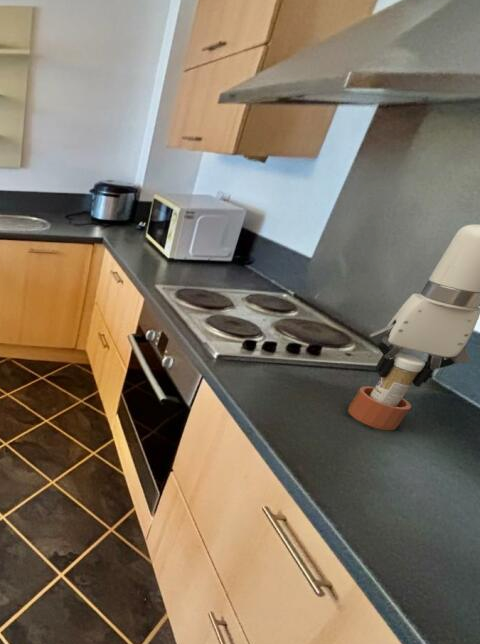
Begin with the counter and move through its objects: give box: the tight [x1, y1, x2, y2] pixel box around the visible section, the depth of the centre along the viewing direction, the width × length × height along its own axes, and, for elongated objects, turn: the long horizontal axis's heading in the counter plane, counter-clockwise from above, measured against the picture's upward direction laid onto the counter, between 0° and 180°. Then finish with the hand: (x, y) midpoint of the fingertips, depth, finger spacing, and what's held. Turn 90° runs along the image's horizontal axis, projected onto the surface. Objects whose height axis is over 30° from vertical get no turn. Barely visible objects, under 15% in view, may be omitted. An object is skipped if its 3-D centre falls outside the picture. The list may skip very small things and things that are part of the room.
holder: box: [347, 385, 412, 432], centre depth 87 cm, size 8×8×6 cm
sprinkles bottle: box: [370, 352, 426, 407], centre depth 85 cm, size 5×5×14 cm
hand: (397, 378), depth 84 cm, fingers closed on sprinkles bottle, 4 cm apart
